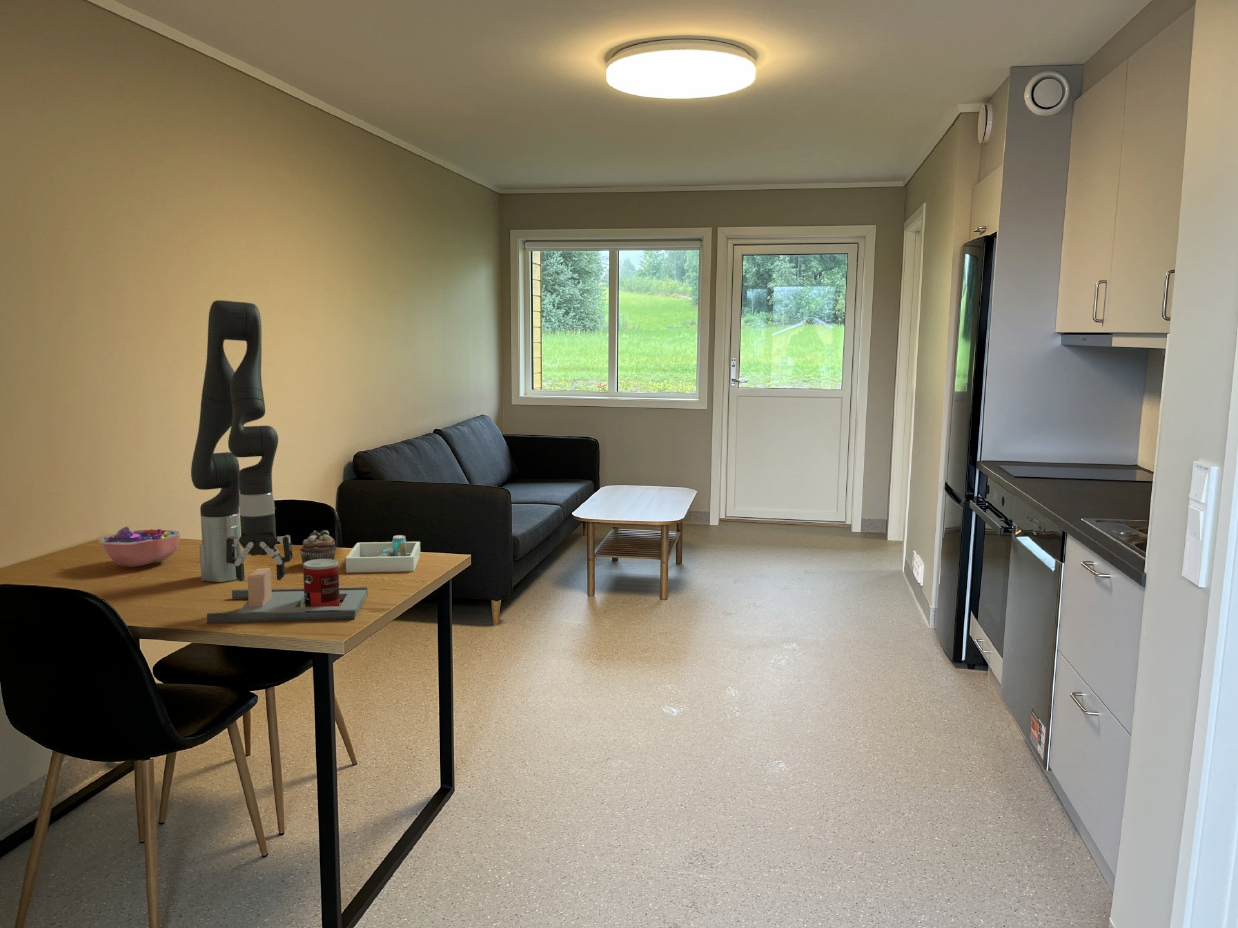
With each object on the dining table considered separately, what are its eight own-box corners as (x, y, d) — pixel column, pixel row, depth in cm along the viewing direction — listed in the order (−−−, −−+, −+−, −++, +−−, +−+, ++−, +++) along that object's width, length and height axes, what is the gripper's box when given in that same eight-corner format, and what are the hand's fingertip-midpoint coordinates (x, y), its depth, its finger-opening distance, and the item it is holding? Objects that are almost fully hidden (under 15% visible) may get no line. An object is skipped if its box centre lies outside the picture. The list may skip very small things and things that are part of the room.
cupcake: (331, 559, 252) (330, 525, 250) (340, 567, 244) (339, 532, 242) (296, 563, 247) (295, 529, 245) (304, 571, 239) (303, 536, 237)
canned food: (309, 602, 211) (307, 558, 210) (343, 602, 212) (341, 558, 211) (300, 612, 204) (298, 567, 202) (335, 612, 205) (334, 566, 203)
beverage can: (408, 569, 243) (408, 541, 242) (365, 569, 243) (364, 541, 242) (417, 558, 255) (416, 532, 254) (375, 558, 255) (375, 531, 253)
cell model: (188, 566, 242) (186, 526, 241) (105, 577, 231) (102, 535, 229) (176, 553, 256) (173, 515, 254) (97, 563, 244) (94, 523, 242)
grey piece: (237, 618, 198) (235, 582, 197) (257, 597, 214) (255, 564, 212) (355, 615, 201) (354, 580, 200) (366, 595, 217) (365, 562, 216)
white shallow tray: (346, 572, 238) (345, 558, 238) (357, 555, 256) (357, 542, 256) (413, 571, 241) (413, 557, 240) (420, 554, 258) (420, 541, 258)
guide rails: (207, 623, 196) (206, 614, 196) (233, 597, 214) (233, 589, 214) (354, 619, 200) (354, 610, 200) (367, 594, 218) (367, 587, 218)
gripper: (219, 515, 198) (224, 585, 201) (285, 514, 200) (288, 583, 202) (230, 509, 206) (234, 576, 208) (293, 508, 208) (296, 574, 210)
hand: (260, 579), depth 205 cm, fingers open, 8 cm apart
